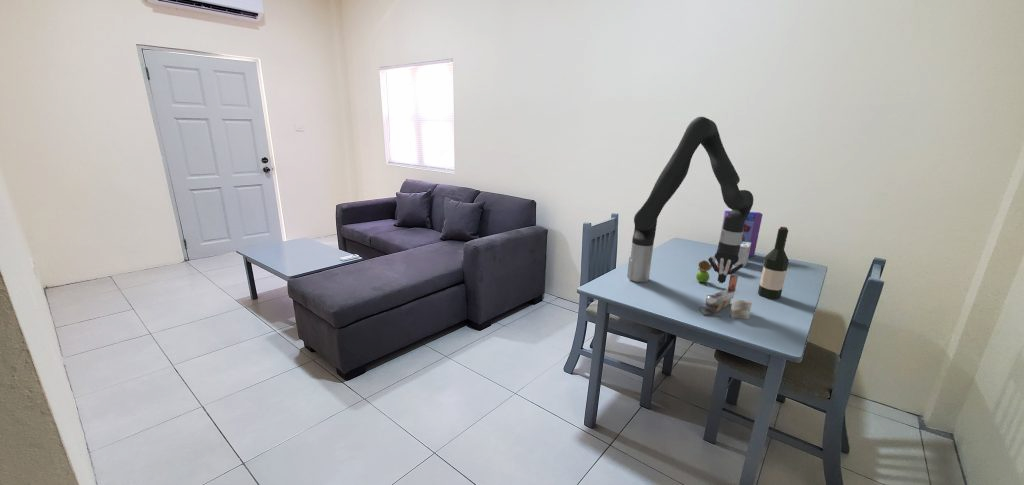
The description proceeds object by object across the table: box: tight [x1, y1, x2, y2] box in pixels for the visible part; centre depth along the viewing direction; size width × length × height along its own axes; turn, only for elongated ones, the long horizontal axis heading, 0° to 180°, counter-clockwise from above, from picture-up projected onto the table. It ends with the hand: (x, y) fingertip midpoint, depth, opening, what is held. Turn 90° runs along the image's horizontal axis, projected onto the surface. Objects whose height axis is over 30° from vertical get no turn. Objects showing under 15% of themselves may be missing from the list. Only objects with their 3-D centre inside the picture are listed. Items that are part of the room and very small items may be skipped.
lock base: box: [698, 299, 753, 319], centre depth 160 cm, size 16×15×6 cm
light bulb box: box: [733, 241, 751, 268], centre depth 212 cm, size 11×7×11 cm, turn 144°
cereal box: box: [720, 210, 763, 258], centre depth 225 cm, size 17×5×24 cm, turn 80°
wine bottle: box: [757, 226, 790, 301], centre depth 170 cm, size 8×8×30 cm
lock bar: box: [705, 274, 739, 306], centre depth 158 cm, size 16×4×9 cm, turn 122°
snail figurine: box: [695, 259, 713, 283], centre depth 186 cm, size 5×6×12 cm
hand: (721, 282), depth 164 cm, fingers closed
